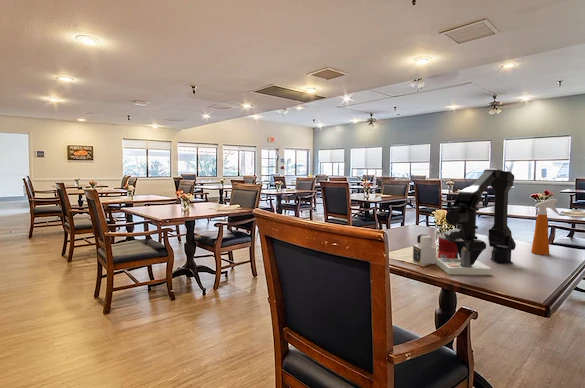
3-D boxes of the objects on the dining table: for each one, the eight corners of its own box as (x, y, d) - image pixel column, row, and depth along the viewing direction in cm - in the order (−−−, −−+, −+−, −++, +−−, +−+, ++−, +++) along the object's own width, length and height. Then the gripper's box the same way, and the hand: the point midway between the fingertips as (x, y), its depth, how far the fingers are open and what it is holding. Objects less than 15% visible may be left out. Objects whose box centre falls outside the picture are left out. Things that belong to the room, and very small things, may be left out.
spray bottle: (561, 256, 157) (564, 199, 154) (534, 254, 160) (537, 199, 158) (555, 252, 163) (558, 198, 161) (529, 250, 167) (531, 197, 165)
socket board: (474, 264, 144) (474, 258, 144) (491, 274, 131) (491, 267, 130) (435, 263, 145) (436, 257, 145) (448, 274, 132) (448, 267, 131)
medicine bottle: (412, 260, 152) (413, 233, 151) (427, 259, 153) (428, 233, 152) (420, 264, 145) (420, 237, 144) (435, 264, 145) (436, 236, 144)
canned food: (460, 263, 145) (460, 238, 145) (440, 262, 147) (441, 238, 146) (455, 259, 153) (456, 235, 152) (436, 258, 155) (437, 234, 154)
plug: (468, 270, 136) (468, 246, 135) (471, 273, 133) (472, 248, 132) (460, 270, 136) (461, 246, 135) (463, 272, 133) (464, 248, 132)
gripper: (438, 218, 143) (437, 255, 144) (456, 226, 124) (455, 268, 125) (465, 219, 142) (463, 255, 143) (487, 227, 123) (486, 268, 125)
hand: (466, 261), depth 134 cm, fingers open, 9 cm apart
